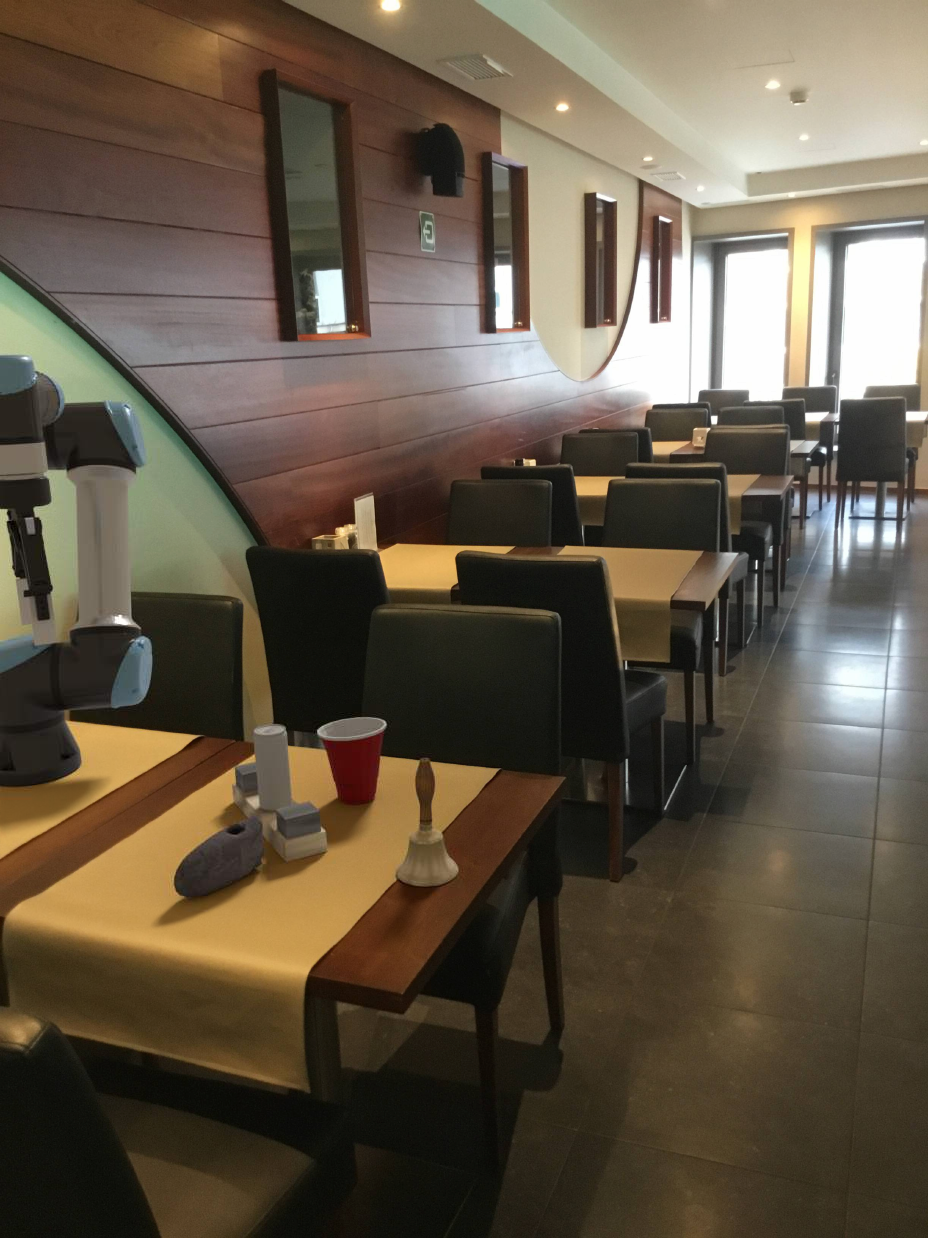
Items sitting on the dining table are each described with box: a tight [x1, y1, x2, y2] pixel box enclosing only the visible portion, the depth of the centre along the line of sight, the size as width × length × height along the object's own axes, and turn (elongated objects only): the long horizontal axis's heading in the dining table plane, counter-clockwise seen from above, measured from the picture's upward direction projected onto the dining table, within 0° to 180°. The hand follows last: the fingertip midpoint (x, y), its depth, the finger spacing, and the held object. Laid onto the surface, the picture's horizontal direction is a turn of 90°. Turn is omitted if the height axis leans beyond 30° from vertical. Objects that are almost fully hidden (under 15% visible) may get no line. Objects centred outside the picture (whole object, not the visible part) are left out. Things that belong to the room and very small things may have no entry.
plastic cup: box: [316, 716, 388, 805], centre depth 157 cm, size 11×11×12 cm
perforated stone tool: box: [173, 816, 266, 899], centre depth 132 cm, size 15×5×7 cm, turn 142°
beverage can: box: [252, 723, 293, 812], centre depth 147 cm, size 5×5×12 cm
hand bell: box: [395, 757, 460, 887], centre depth 132 cm, size 8×8×16 cm
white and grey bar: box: [231, 761, 328, 863], centre depth 148 cm, size 24×6×6 cm, turn 30°
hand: (39, 633), depth 137 cm, fingers open, 13 cm apart
